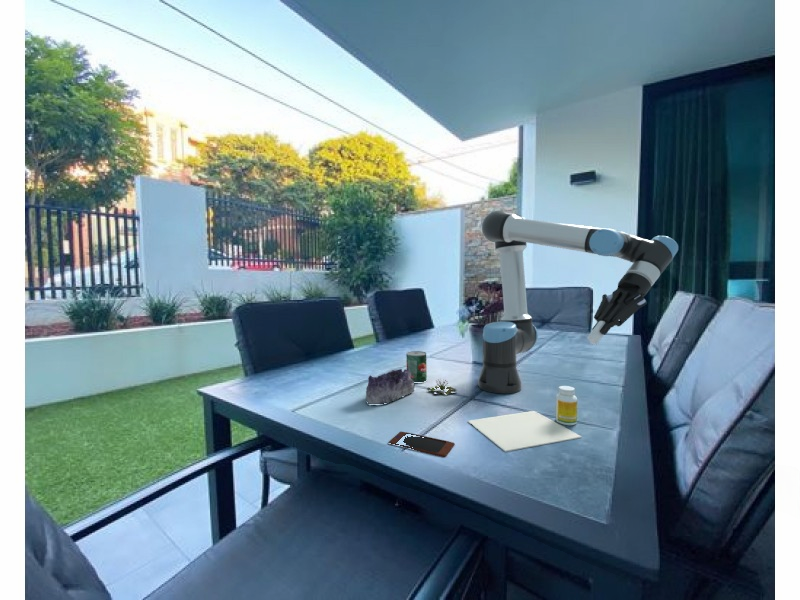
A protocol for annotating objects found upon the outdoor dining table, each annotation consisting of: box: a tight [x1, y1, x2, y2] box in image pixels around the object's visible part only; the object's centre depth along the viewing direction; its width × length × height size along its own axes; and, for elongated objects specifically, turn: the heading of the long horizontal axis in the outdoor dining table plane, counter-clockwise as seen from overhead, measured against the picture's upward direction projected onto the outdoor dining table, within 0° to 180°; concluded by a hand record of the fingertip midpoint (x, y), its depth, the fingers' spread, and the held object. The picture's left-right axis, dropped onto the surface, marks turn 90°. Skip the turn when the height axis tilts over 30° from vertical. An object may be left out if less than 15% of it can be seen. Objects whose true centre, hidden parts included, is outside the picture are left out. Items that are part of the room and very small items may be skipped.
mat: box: [467, 410, 583, 453], centre depth 93 cm, size 22×18×1 cm
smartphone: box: [387, 431, 456, 458], centre depth 86 cm, size 7×1×15 cm
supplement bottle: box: [555, 385, 578, 426], centre depth 97 cm, size 5×5×10 cm
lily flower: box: [427, 379, 456, 396], centre depth 125 cm, size 12×12×5 cm
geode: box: [365, 368, 415, 404], centre depth 119 cm, size 20×12×10 cm, turn 145°
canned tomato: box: [406, 350, 428, 382], centre depth 138 cm, size 8×8×11 cm
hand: (591, 341), depth 98 cm, fingers closed
